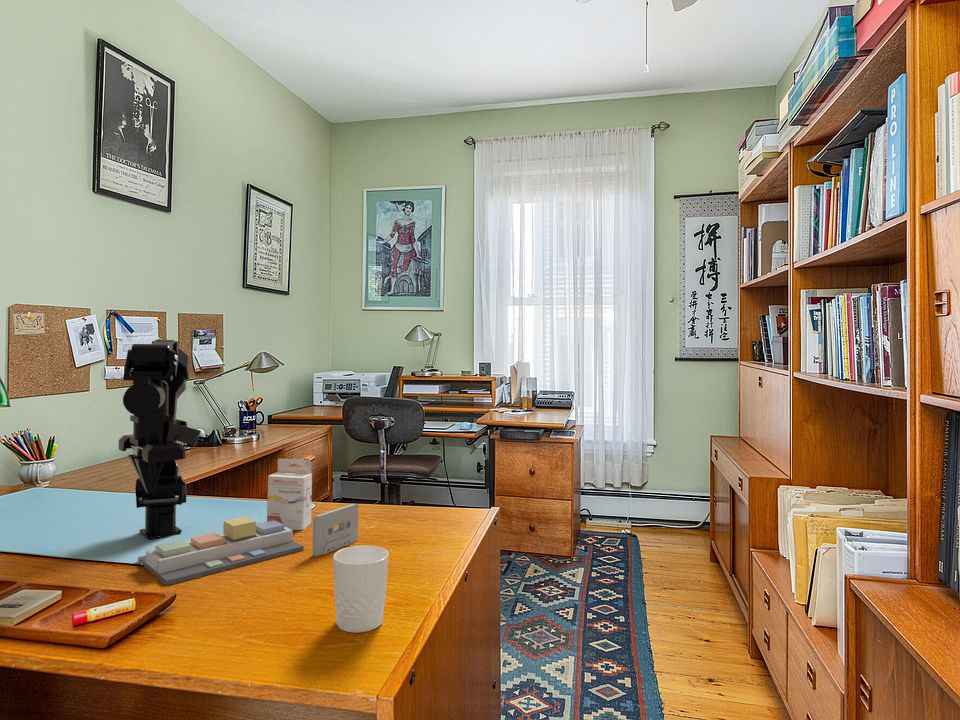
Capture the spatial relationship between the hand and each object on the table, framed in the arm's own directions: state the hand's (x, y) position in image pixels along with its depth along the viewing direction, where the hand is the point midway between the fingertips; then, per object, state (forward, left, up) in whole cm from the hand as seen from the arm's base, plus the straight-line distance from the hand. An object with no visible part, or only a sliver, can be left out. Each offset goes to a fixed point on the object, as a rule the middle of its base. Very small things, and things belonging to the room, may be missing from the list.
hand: (150, 492), depth 109 cm
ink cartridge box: (+1, +28, -12) cm, 31 cm away
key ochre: (+9, +13, -9) cm, 18 cm away
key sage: (+9, +1, -10) cm, 14 cm away
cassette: (+20, +28, -12) cm, 36 cm away
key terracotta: (+10, +7, -10) cm, 16 cm away
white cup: (+50, +13, -12) cm, 53 cm away
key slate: (+9, +19, -11) cm, 24 cm away
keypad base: (+9, +10, -12) cm, 18 cm away
